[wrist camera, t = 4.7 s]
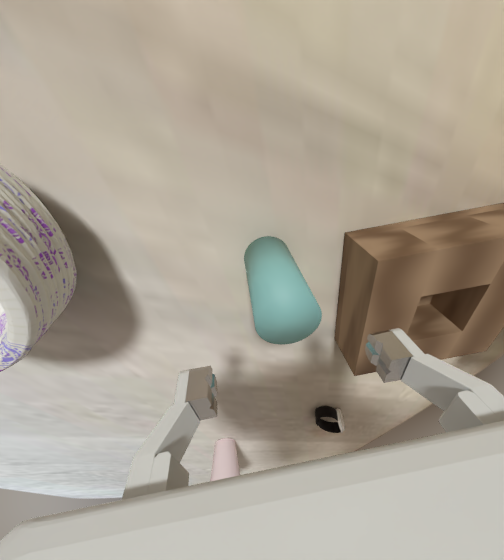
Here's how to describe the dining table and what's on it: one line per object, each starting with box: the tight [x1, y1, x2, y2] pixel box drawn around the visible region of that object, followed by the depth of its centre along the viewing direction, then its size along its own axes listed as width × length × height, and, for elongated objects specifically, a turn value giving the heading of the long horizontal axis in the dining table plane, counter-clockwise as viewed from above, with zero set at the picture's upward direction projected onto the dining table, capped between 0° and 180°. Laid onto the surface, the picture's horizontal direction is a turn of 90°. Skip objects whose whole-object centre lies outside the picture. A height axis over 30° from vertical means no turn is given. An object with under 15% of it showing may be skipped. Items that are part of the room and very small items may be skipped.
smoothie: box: [210, 438, 240, 481], centre depth 35 cm, size 6×6×14 cm
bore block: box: [335, 203, 504, 376], centre depth 21 cm, size 14×14×5 cm
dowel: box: [244, 236, 322, 344], centre depth 16 cm, size 4×4×8 cm
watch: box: [315, 406, 345, 433], centre depth 37 cm, size 8×5×4 cm, turn 27°
